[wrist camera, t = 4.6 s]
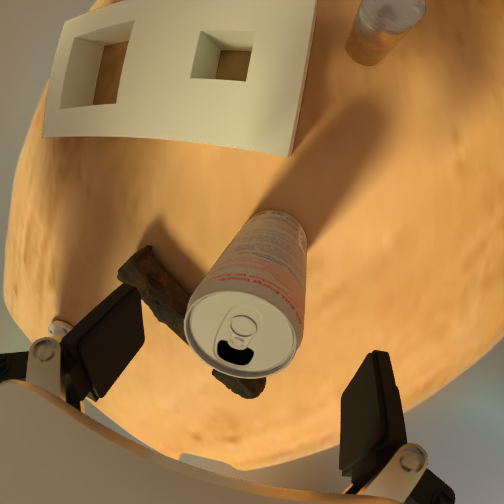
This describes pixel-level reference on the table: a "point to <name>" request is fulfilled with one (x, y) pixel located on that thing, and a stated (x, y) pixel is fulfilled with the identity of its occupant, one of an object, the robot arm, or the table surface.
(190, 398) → the table surface
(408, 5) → the grey metal peg
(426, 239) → the table surface
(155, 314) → the hand tool
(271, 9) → the socket block
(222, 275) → the energy drink
